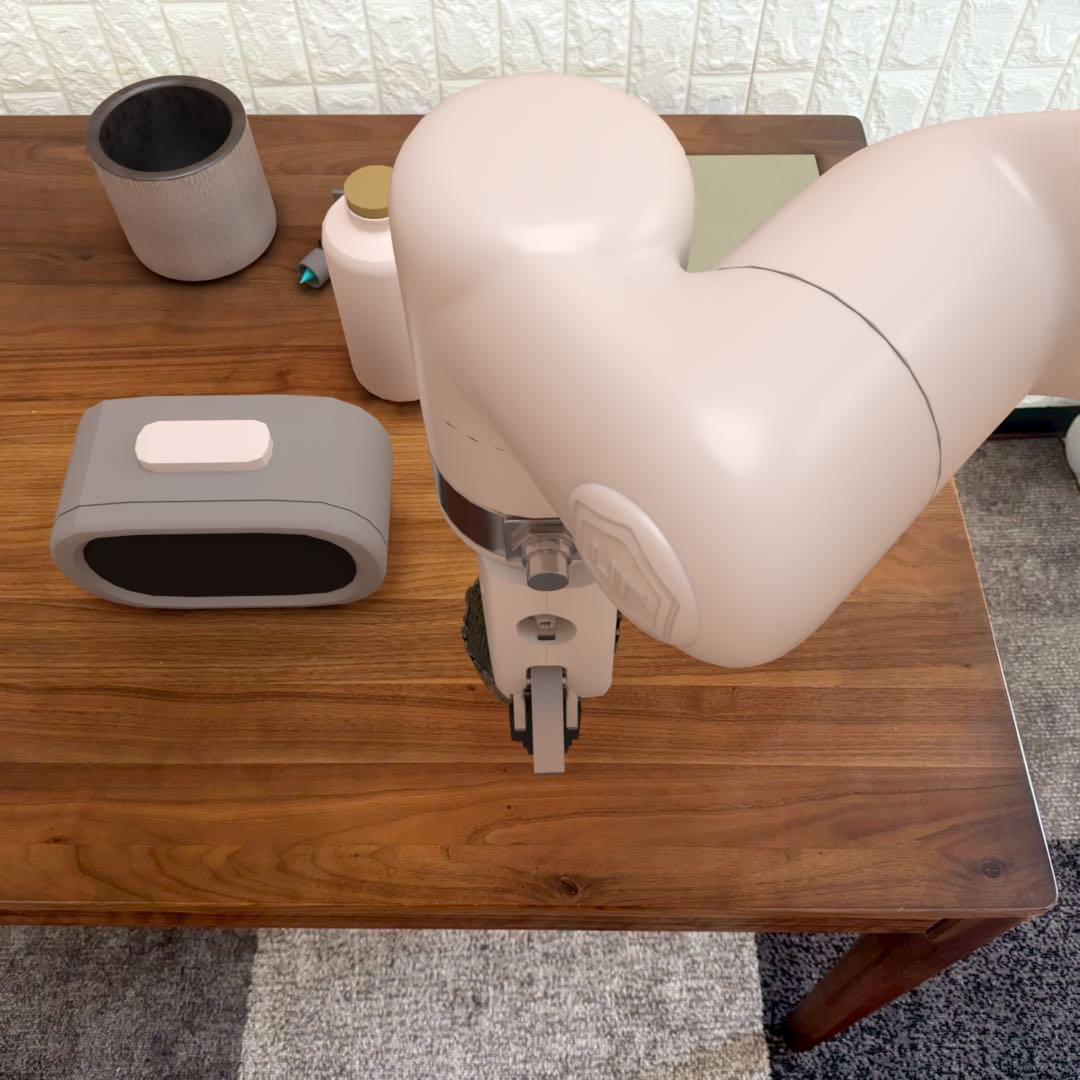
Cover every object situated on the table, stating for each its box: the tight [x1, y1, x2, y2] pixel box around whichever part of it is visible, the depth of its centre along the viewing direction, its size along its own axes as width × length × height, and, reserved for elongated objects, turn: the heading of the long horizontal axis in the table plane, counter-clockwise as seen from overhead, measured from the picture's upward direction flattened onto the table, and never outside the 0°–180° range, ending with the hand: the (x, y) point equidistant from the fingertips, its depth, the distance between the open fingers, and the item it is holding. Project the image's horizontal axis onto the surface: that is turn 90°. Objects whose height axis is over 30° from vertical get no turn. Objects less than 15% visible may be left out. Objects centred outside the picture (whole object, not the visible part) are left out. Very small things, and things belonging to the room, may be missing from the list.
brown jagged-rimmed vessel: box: [460, 574, 623, 708], centre depth 47 cm, size 8×7×8 cm
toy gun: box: [296, 188, 344, 289], centre depth 80 cm, size 10×12×5 cm
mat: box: [686, 154, 821, 273], centre depth 80 cm, size 36×24×1 cm, turn 2°
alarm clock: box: [48, 394, 394, 610], centre depth 63 cm, size 21×10×13 cm, turn 91°
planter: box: [83, 74, 277, 282], centre depth 79 cm, size 13×12×11 cm
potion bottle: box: [321, 164, 420, 403], centre depth 69 cm, size 8×8×18 cm
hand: (541, 655), depth 48 cm, fingers closed on brown jagged-rimmed vessel, 7 cm apart
